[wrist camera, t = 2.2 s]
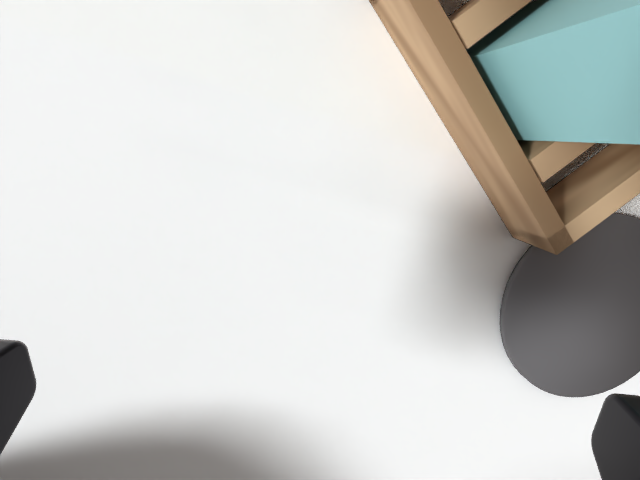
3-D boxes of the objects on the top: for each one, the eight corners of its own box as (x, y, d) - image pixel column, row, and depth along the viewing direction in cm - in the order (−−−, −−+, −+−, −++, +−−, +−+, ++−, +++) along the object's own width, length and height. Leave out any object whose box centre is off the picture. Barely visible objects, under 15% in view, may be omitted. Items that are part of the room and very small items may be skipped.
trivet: (643, 396, 24) (650, 400, 23) (481, 388, 22) (485, 393, 22) (697, 223, 22) (705, 225, 21) (525, 201, 20) (530, 202, 20)
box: (512, 237, 20) (556, 255, 18) (360, -13, 17) (384, -42, 14) (715, 85, 20) (793, 78, 17) (601, -196, 17) (674, -263, 14)
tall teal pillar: (489, 138, 19) (759, 149, 9) (446, 65, 18) (695, -14, 8) (567, 80, 19) (923, 26, 9) (528, 3, 18) (879, -152, 8)
